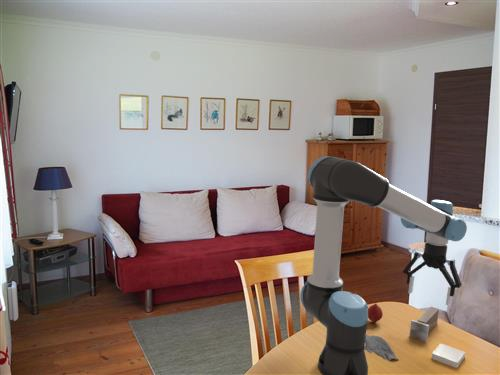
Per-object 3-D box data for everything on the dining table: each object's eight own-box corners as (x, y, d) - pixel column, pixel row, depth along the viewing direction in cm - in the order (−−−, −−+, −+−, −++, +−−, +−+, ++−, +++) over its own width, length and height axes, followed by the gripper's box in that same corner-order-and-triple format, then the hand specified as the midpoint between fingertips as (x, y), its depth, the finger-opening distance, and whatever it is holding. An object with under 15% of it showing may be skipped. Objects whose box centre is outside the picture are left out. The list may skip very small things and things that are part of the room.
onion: (363, 319, 174) (365, 300, 172) (375, 318, 175) (377, 299, 174) (371, 326, 168) (373, 306, 167) (384, 325, 170) (386, 305, 169)
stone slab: (351, 331, 162) (377, 329, 163) (350, 336, 162) (377, 334, 164) (371, 360, 144) (400, 357, 146) (370, 365, 145) (400, 362, 146)
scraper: (409, 335, 163) (411, 320, 162) (425, 319, 177) (427, 305, 176) (426, 341, 159) (428, 326, 158) (441, 324, 173) (442, 310, 172)
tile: (439, 349, 155) (431, 359, 148) (440, 343, 155) (432, 353, 148) (464, 358, 150) (456, 369, 143) (465, 352, 150) (457, 362, 143)
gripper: (476, 249, 157) (467, 305, 161) (405, 233, 173) (399, 285, 176) (471, 253, 152) (461, 312, 155) (398, 236, 167) (391, 290, 170)
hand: (428, 298), depth 165 cm, fingers open, 13 cm apart
